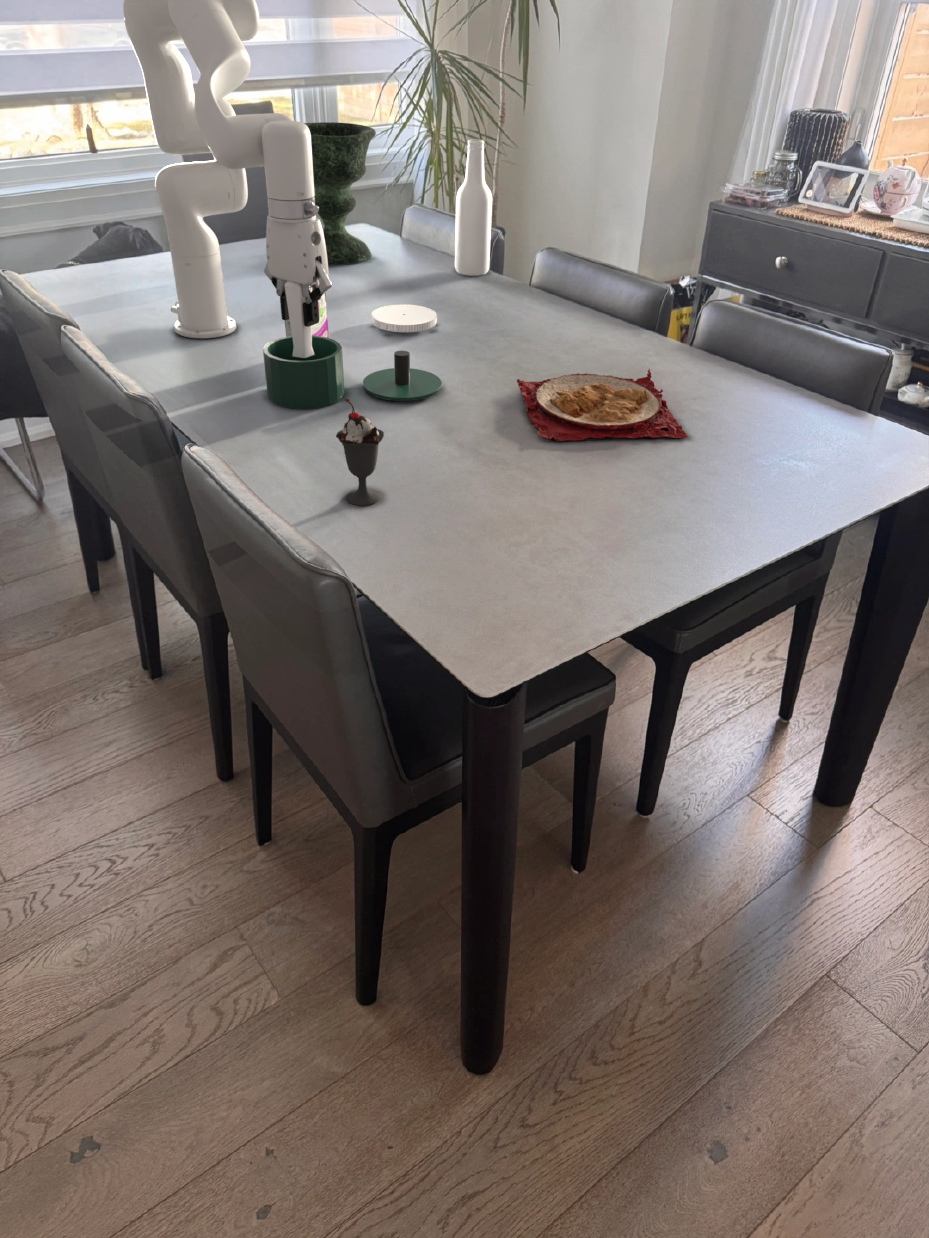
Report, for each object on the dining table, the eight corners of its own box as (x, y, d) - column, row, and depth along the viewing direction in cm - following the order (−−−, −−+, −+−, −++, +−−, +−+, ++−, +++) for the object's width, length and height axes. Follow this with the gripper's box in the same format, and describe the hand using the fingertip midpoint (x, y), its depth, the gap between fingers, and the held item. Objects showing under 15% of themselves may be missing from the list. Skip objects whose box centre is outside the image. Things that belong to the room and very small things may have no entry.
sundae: (340, 487, 138) (335, 392, 129) (385, 487, 138) (382, 392, 129) (339, 509, 132) (333, 411, 124) (385, 508, 133) (383, 411, 124)
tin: (254, 402, 163) (248, 355, 158) (290, 375, 173) (286, 331, 168) (323, 414, 159) (320, 366, 154) (356, 386, 170) (354, 341, 165)
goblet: (342, 273, 229) (335, 139, 212) (274, 257, 239) (263, 128, 221) (394, 255, 244) (392, 128, 227) (329, 241, 254) (322, 119, 236)
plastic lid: (398, 341, 190) (398, 329, 188) (358, 324, 198) (358, 312, 197) (449, 328, 198) (450, 316, 196) (409, 312, 206) (409, 300, 204)
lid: (349, 396, 166) (347, 360, 162) (381, 369, 177) (381, 335, 173) (424, 409, 162) (424, 372, 158) (452, 380, 173) (453, 346, 169)
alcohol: (457, 265, 238) (460, 136, 220) (491, 268, 237) (496, 138, 219) (452, 275, 231) (454, 142, 213) (486, 277, 230) (492, 144, 212)
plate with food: (515, 388, 172) (516, 371, 170) (649, 383, 174) (651, 365, 172) (538, 445, 153) (540, 426, 151) (687, 438, 155) (691, 419, 153)
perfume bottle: (320, 351, 163) (315, 264, 154) (309, 359, 159) (303, 270, 151) (297, 348, 164) (290, 261, 155) (285, 356, 161) (278, 267, 152)
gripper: (347, 212, 147) (352, 326, 157) (270, 197, 154) (279, 306, 165) (315, 220, 141) (323, 337, 152) (237, 204, 149) (249, 317, 160)
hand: (300, 320), depth 158 cm, fingers closed on perfume bottle, 4 cm apart
